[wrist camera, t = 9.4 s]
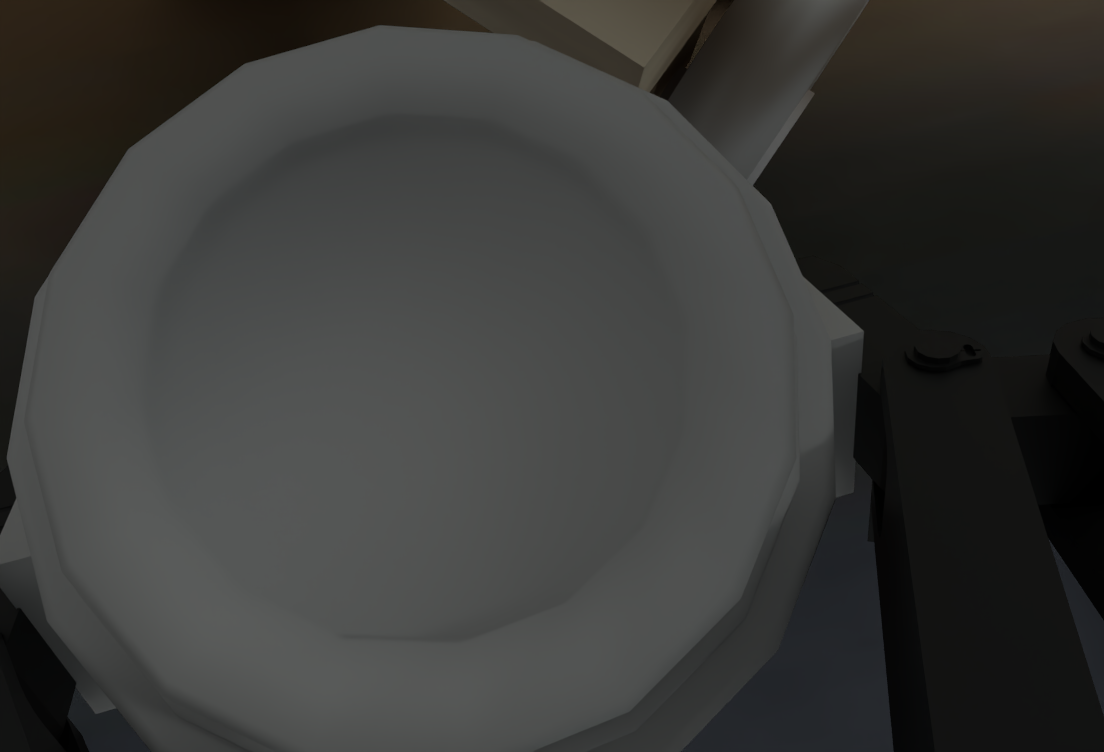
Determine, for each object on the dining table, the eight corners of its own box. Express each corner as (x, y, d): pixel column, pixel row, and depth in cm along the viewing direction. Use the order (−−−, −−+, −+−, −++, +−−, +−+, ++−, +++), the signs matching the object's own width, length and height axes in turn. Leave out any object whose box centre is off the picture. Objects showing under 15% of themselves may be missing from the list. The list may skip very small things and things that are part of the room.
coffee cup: (248, 315, 20) (-114, -32, 8) (631, 265, 21) (802, -118, 9) (285, 727, 18) (-114, 1036, 6) (703, 654, 19) (1032, 810, 7)
